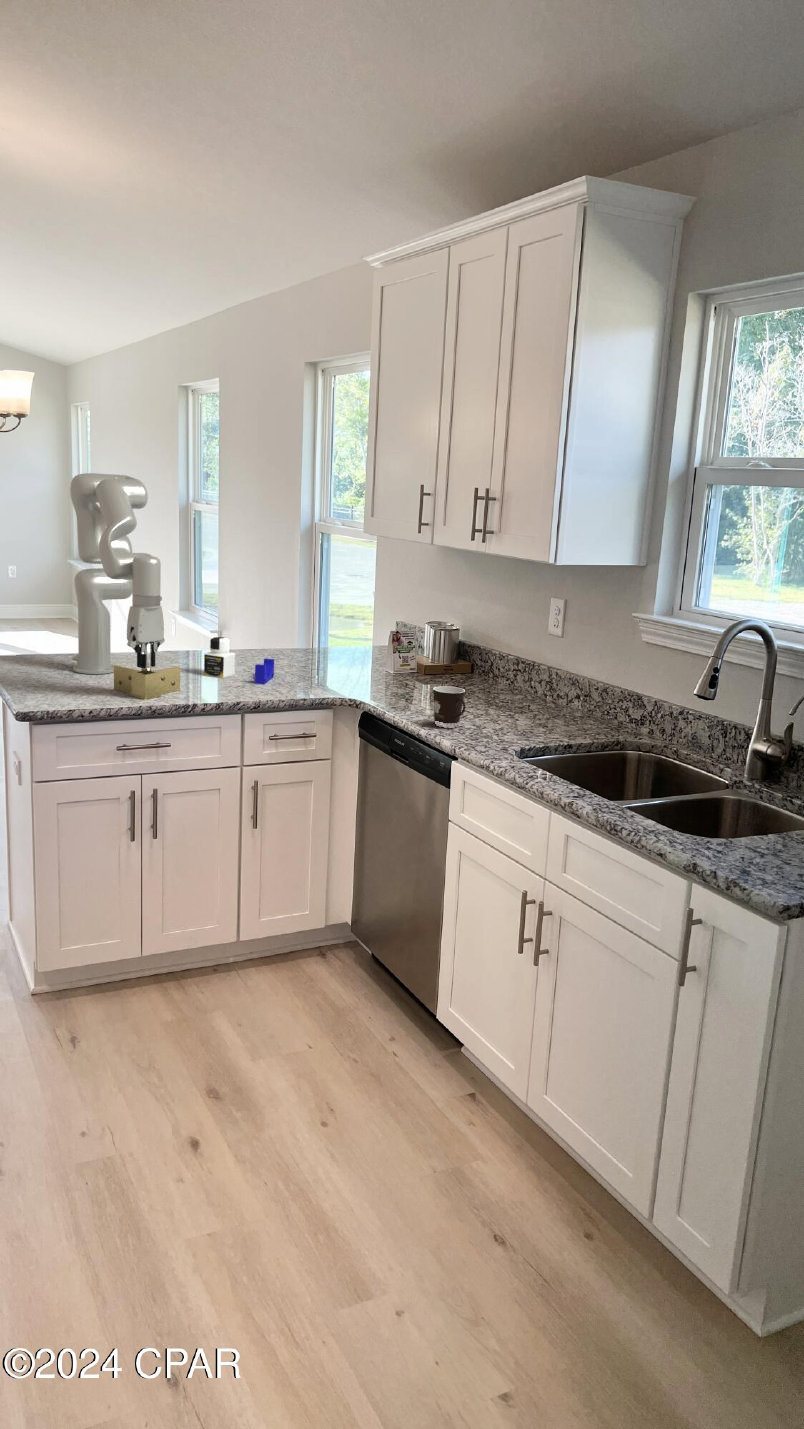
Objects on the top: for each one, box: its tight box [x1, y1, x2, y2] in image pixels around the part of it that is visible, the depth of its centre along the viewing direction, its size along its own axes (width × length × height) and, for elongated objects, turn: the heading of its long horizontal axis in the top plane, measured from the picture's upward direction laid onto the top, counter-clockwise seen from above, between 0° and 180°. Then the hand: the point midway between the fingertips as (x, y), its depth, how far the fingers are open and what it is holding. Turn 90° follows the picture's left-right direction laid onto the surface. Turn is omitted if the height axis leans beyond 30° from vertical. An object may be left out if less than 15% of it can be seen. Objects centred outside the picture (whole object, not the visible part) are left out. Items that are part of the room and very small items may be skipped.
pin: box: [141, 642, 152, 674], centre depth 289 cm, size 3×3×13 cm
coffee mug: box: [432, 685, 466, 723], centre depth 278 cm, size 12×9×10 cm
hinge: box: [113, 664, 181, 700], centre depth 298 cm, size 16×16×7 cm
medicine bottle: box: [203, 636, 236, 679], centre depth 326 cm, size 7×7×12 cm
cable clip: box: [254, 658, 275, 685], centre depth 323 cm, size 12×4×6 cm, turn 173°
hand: (146, 666), depth 290 cm, fingers closed on pin, 2 cm apart
